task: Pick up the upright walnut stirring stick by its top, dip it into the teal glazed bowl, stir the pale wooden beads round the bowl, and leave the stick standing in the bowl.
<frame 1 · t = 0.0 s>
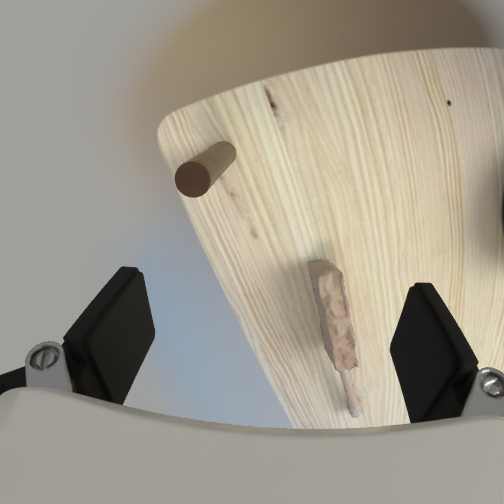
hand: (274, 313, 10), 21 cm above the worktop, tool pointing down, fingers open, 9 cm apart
stick: (224, 153, 29), on the worktop
tan handled block: (345, 348, 39), on the worktop
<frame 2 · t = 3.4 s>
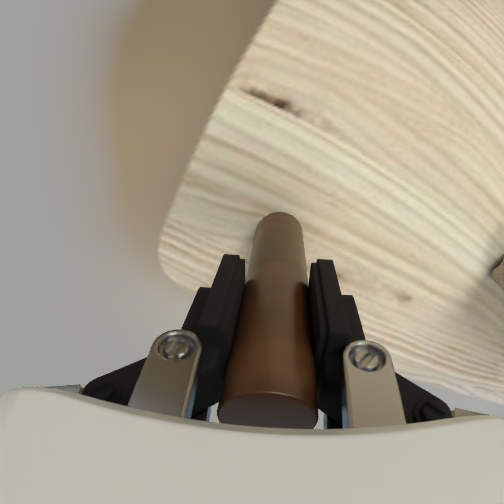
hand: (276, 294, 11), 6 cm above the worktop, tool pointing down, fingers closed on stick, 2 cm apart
stick: (279, 233, 16), on the worktop, touching gripper
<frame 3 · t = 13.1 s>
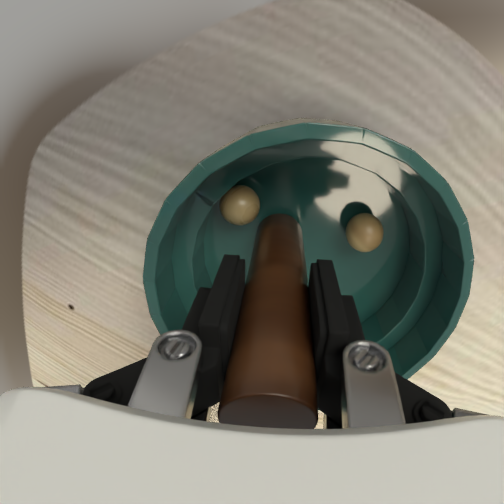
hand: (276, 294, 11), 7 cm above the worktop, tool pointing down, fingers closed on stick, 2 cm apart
stick: (279, 234, 16), point 1 cm above the worktop, touching gripper
mixing bowl: (308, 253, 18), on the worktop
bead a: (364, 232, 15), point 2 cm above the worktop, tilted 64°, touching mixing bowl
bead b: (239, 205, 15), point 2 cm above the worktop, tilted 135°, touching mixing bowl
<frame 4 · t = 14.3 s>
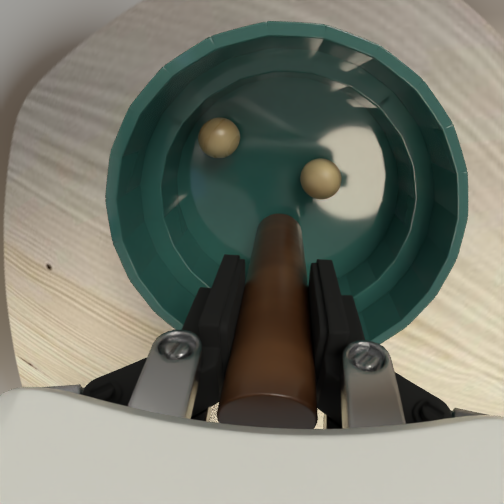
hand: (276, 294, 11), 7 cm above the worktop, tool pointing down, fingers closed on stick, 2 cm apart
stick: (279, 234, 16), point 1 cm above the worktop, touching gripper
mixing bowl: (288, 188, 16), on the worktop
bead a: (320, 178, 14), point 2 cm above the worktop, tilted 32°, touching mixing bowl
bead b: (219, 137, 14), point 2 cm above the worktop, tilted 109°, touching mixing bowl
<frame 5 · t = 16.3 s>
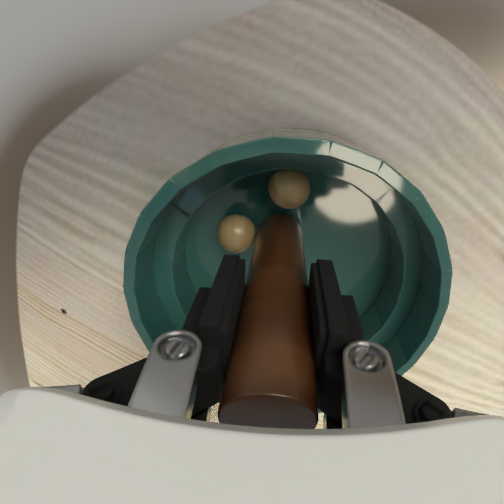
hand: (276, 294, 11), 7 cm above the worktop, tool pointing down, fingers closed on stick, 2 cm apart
stick: (279, 234, 16), point 1 cm above the worktop, touching gripper
mixing bowl: (288, 260, 18), on the worktop
bead a: (289, 188, 14), point 2 cm above the worktop, tilted 115°, touching mixing bowl
bead b: (236, 233, 16), point 2 cm above the worktop, tilted 64°, touching mixing bowl
when the fingers open (6 cm above the worktop, at t = 18.1 s): stick stays where it is, resting on mixing bowl.
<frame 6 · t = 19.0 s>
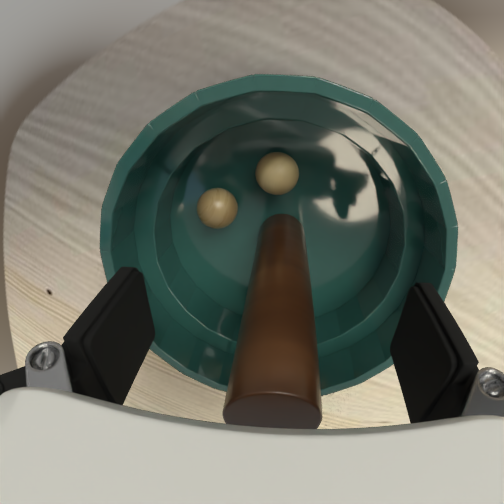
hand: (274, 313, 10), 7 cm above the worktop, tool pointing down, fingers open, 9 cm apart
stick: (281, 234, 16), point 1 cm above the worktop, touching mixing bowl
mixing bowl: (280, 228, 17), on the worktop
bead a: (277, 173, 14), point 2 cm above the worktop, tilted 129°, touching mixing bowl
bead b: (217, 208, 15), point 2 cm above the worktop, tilted 61°, touching mixing bowl
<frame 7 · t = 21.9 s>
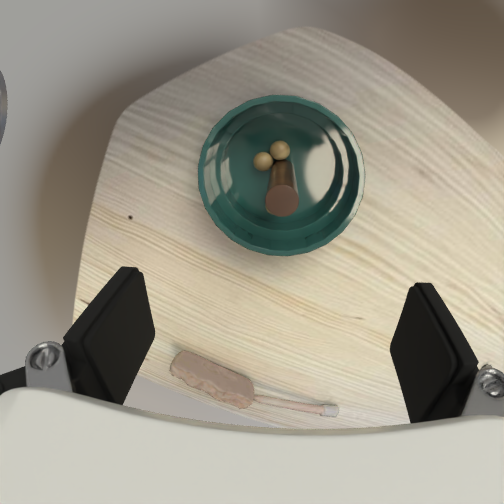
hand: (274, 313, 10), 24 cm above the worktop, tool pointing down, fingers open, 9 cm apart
stick: (282, 169, 31), point 1 cm above the worktop, touching mixing bowl
mixing bowl: (281, 167, 32), on the worktop
bead a: (279, 150, 29), point 2 cm above the worktop, tilted 84°, touching mixing bowl
tan handled block: (263, 382, 47), on the worktop
bead b: (263, 161, 30), point 2 cm above the worktop, tilted 18°, touching mixing bowl
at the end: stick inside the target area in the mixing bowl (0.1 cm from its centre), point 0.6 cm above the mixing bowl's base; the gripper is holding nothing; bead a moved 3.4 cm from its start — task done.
